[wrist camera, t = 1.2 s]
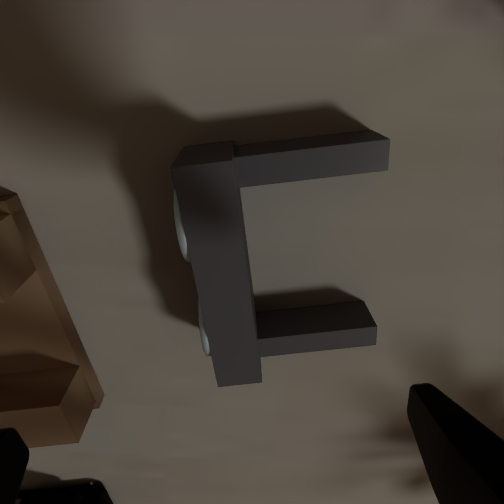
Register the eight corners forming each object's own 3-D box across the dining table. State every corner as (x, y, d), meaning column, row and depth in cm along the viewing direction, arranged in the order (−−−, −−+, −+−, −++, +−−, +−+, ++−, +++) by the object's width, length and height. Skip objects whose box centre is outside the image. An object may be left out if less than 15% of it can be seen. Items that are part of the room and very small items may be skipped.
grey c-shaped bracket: (363, 321, 17) (385, 369, 14) (216, 337, 17) (212, 387, 15) (371, 124, 13) (406, 139, 10) (177, 147, 13) (161, 168, 10)
